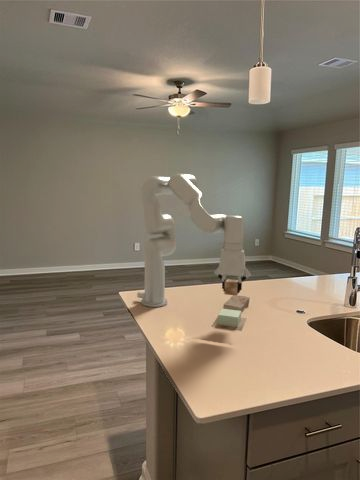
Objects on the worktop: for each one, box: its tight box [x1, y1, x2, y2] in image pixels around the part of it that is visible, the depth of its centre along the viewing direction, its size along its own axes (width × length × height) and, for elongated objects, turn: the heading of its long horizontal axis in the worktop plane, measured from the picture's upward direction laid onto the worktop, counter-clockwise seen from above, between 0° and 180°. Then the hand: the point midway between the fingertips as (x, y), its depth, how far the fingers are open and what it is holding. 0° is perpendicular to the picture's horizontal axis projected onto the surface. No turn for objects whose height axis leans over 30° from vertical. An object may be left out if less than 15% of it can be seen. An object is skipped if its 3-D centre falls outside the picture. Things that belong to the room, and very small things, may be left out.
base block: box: [217, 308, 242, 327], centre depth 148 cm, size 8×8×4 cm
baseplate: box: [211, 316, 247, 332], centre depth 148 cm, size 12×14×1 cm
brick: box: [222, 294, 250, 313], centre depth 167 cm, size 17×8×5 cm, turn 156°
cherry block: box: [223, 278, 239, 296], centre depth 145 cm, size 5×5×5 cm
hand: (231, 290), depth 146 cm, fingers closed on cherry block, 4 cm apart
